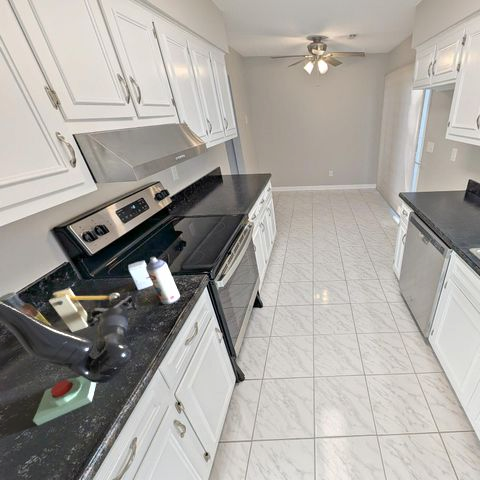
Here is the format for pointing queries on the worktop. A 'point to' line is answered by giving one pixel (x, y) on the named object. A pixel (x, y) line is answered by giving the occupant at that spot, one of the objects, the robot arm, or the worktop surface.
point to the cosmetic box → (140, 275)
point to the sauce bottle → (22, 306)
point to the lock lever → (95, 297)
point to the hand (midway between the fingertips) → (114, 299)
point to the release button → (61, 388)
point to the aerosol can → (162, 281)
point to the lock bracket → (69, 310)
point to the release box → (65, 400)
